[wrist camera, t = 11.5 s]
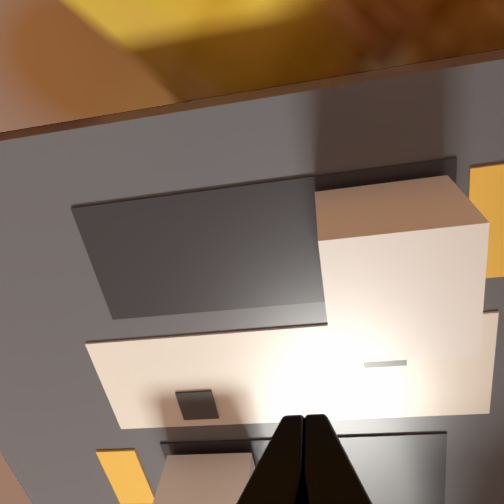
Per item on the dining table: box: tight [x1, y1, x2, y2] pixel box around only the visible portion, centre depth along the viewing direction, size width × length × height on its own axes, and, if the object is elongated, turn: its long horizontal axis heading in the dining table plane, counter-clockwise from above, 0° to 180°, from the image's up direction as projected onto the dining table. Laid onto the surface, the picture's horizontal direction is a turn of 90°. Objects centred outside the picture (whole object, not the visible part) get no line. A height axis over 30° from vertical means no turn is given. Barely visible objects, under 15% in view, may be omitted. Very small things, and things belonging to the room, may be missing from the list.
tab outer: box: [315, 175, 490, 364], centre depth 13 cm, size 4×4×4 cm
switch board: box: [0, 49, 504, 504], centre depth 20 cm, size 22×28×2 cm
